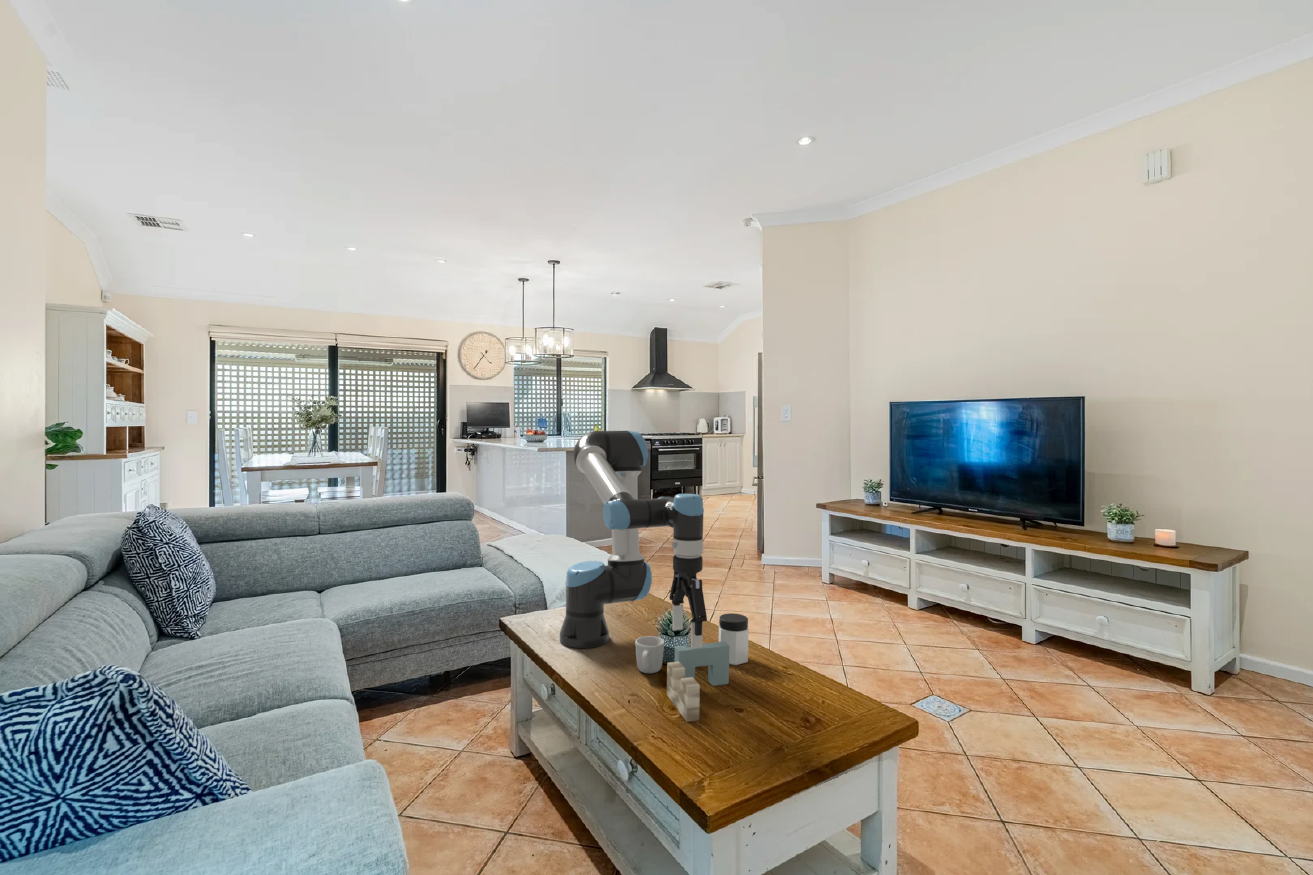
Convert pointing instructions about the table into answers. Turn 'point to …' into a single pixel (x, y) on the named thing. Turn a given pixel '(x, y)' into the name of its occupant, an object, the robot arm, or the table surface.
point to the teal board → (706, 661)
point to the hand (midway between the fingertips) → (686, 638)
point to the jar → (735, 636)
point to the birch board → (683, 691)
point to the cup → (649, 653)
